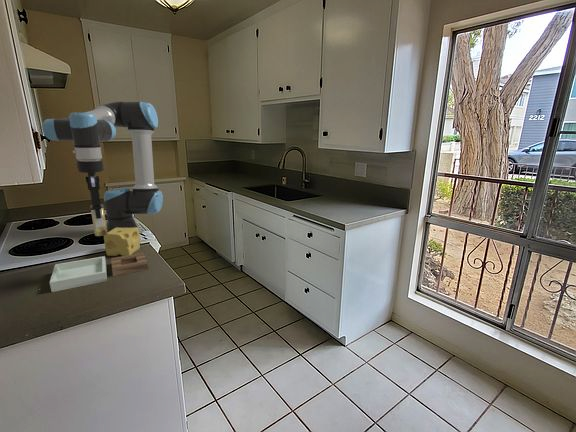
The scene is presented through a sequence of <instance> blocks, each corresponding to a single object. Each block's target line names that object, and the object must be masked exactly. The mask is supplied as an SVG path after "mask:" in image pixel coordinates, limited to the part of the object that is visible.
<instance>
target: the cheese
mask: <svg viewBox="0 0 576 432" xmlns="http://www.w3.org/2000/svg"><path fill="white" fill-rule="evenodd" d="M103 240H104V241H103V242H104V247H105V253H106V256H109V257H115V256H117V257H118V256H120V257H122V256H128V255H134V254H135V252H137V251H138V250H139V249H141V236H140V231H139V226H138V227H134V228H114V229H113V230H111V231H109V232H108V234H107V235H104V236H103ZM133 253H134V254H133Z"/></svg>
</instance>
